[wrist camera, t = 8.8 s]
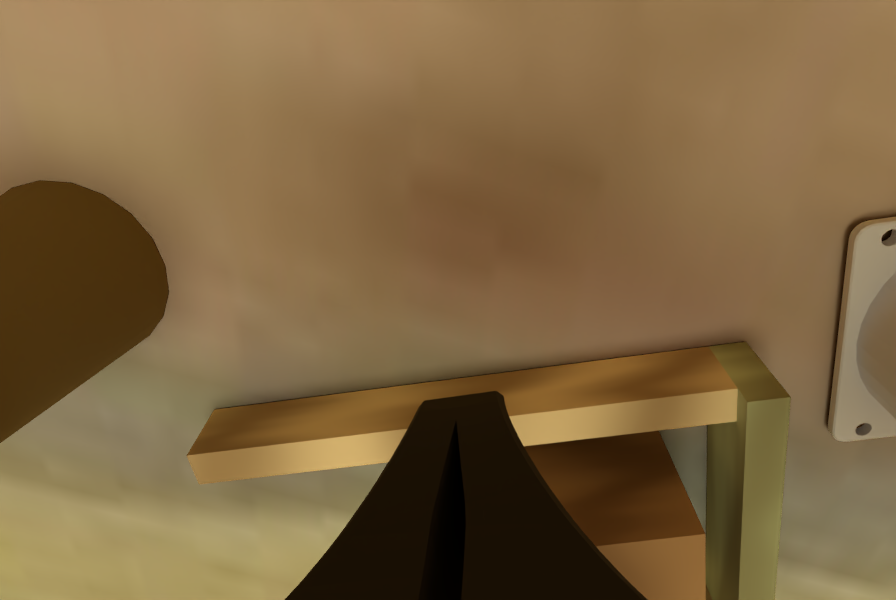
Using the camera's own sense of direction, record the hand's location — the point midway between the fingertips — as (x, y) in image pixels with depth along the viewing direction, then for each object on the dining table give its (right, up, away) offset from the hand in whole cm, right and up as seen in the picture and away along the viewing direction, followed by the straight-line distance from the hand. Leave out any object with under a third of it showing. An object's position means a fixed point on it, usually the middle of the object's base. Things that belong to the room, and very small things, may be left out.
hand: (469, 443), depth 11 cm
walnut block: (+5, -5, +13) cm, 15 cm away
